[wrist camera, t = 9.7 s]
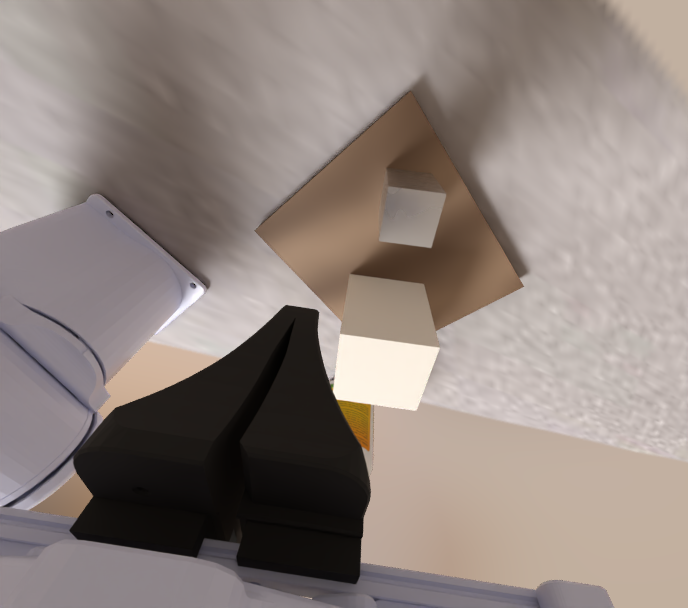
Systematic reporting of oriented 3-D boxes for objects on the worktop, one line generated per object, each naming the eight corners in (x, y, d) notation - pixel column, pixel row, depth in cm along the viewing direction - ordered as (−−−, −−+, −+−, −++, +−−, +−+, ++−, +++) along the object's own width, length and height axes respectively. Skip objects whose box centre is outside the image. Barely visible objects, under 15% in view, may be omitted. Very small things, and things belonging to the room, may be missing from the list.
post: (378, 212, 19) (378, 241, 15) (386, 167, 17) (388, 186, 14) (420, 218, 19) (431, 248, 15) (431, 173, 17) (446, 193, 14)
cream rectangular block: (342, 331, 24) (331, 398, 19) (349, 273, 21) (340, 333, 16) (407, 340, 24) (416, 410, 19) (424, 283, 21) (439, 347, 16)
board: (259, 225, 21) (254, 231, 20) (409, 91, 16) (410, 90, 15) (378, 351, 26) (378, 359, 26) (518, 279, 21) (523, 286, 21)
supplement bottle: (311, 381, 29) (286, 487, 21) (365, 372, 28) (360, 482, 20) (329, 416, 32) (313, 522, 24) (380, 409, 31) (380, 519, 23)
